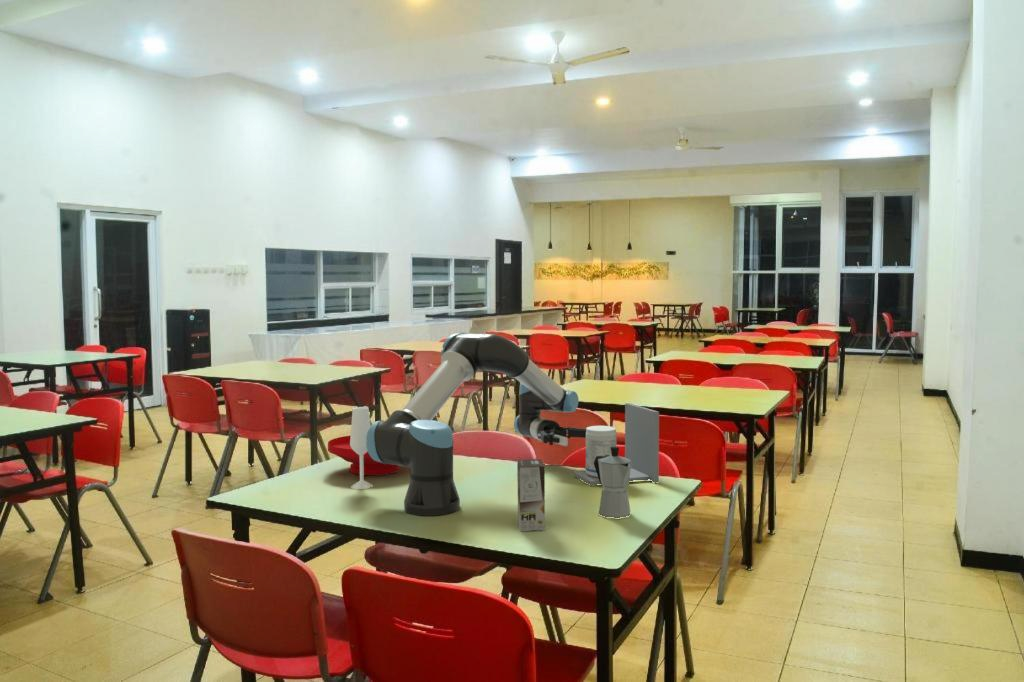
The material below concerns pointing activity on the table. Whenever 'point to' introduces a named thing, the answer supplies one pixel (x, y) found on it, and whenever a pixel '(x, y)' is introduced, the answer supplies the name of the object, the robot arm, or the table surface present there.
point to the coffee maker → (613, 484)
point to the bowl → (358, 458)
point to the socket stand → (637, 445)
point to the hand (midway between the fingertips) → (583, 439)
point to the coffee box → (531, 494)
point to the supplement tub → (598, 445)
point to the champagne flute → (360, 440)
